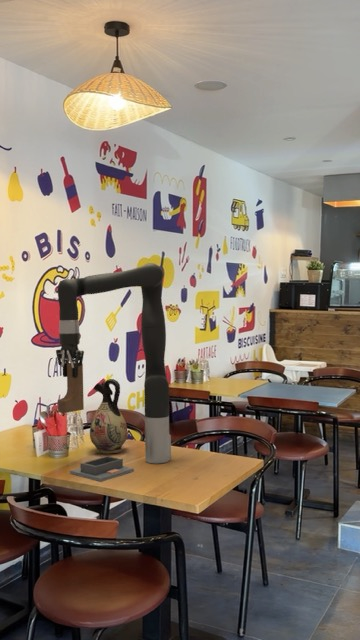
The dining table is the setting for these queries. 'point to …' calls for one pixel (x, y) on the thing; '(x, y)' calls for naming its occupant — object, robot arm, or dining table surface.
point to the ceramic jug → (108, 421)
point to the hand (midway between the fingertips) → (70, 376)
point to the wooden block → (72, 392)
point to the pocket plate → (102, 469)
